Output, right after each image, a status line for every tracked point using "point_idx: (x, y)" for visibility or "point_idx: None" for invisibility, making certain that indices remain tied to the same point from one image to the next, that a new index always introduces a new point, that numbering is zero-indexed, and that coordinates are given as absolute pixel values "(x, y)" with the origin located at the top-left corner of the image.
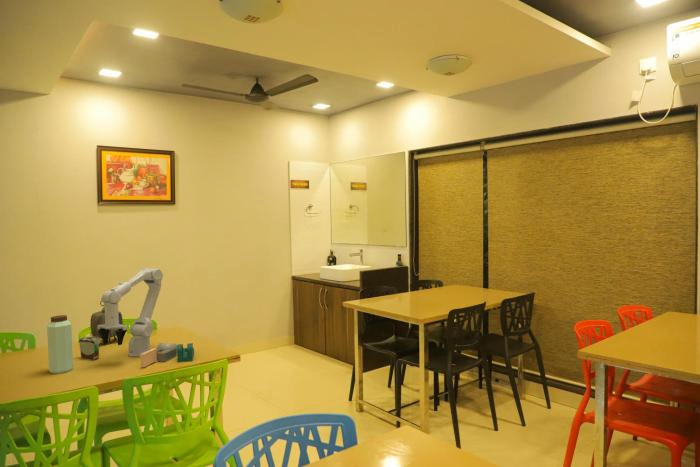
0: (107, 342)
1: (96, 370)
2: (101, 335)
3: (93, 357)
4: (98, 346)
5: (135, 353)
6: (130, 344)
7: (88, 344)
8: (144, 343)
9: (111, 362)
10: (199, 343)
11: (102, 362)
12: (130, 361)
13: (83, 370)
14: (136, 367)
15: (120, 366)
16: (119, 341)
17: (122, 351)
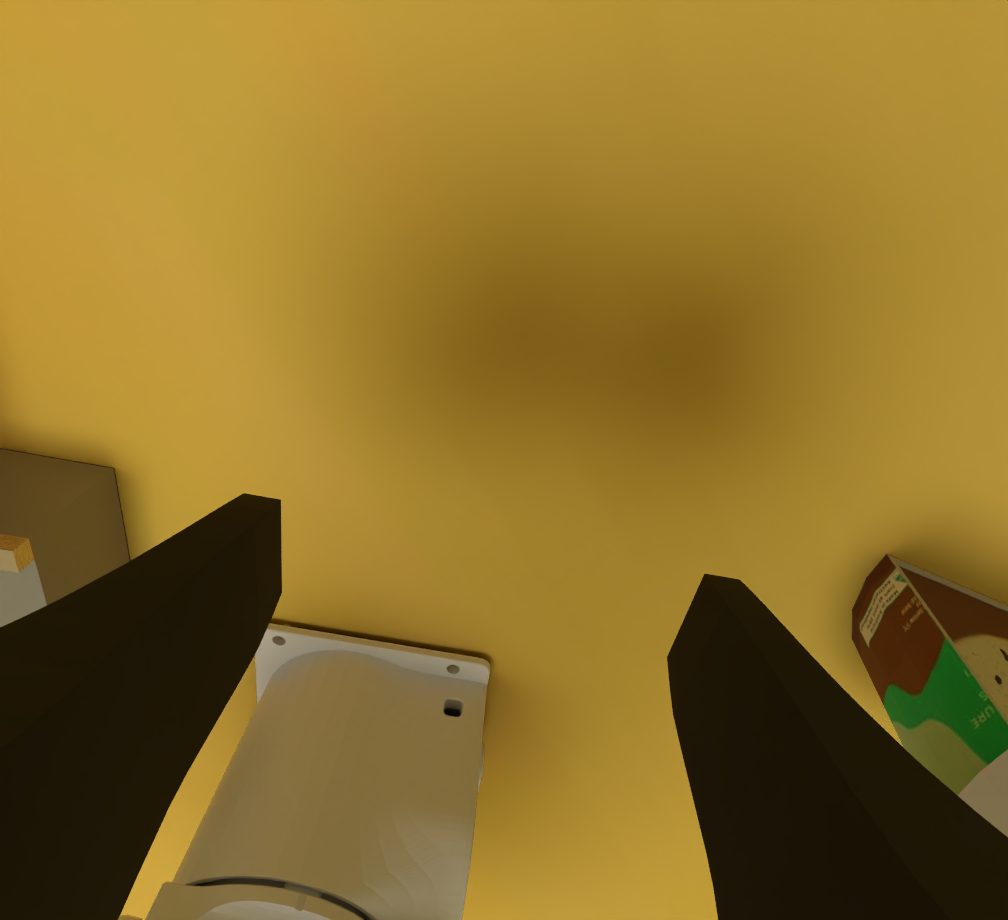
0: (681, 674)
1: (653, 14)
2: (972, 856)
3: (915, 587)
4: (930, 766)
5: (388, 681)
6: (442, 807)
7: None
8: (214, 804)
9: (589, 456)
10: None
11: (727, 466)
12: (332, 478)
13: (925, 28)
14: (12, 174)
15: (329, 250)
16: (154, 556)
17: (649, 799)
